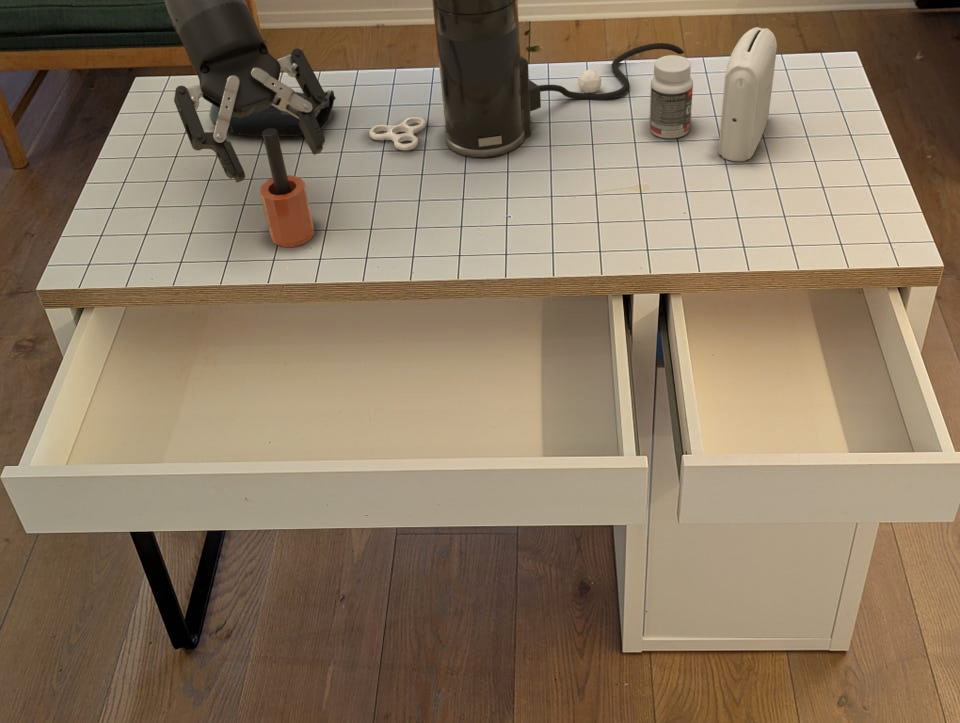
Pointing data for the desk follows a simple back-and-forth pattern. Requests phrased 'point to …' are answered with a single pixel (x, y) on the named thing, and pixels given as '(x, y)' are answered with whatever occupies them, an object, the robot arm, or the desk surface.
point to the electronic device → (275, 119)
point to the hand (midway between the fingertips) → (280, 165)
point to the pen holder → (288, 213)
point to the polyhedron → (589, 81)
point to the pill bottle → (671, 97)
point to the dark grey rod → (276, 161)
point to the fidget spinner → (400, 137)
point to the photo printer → (747, 94)
